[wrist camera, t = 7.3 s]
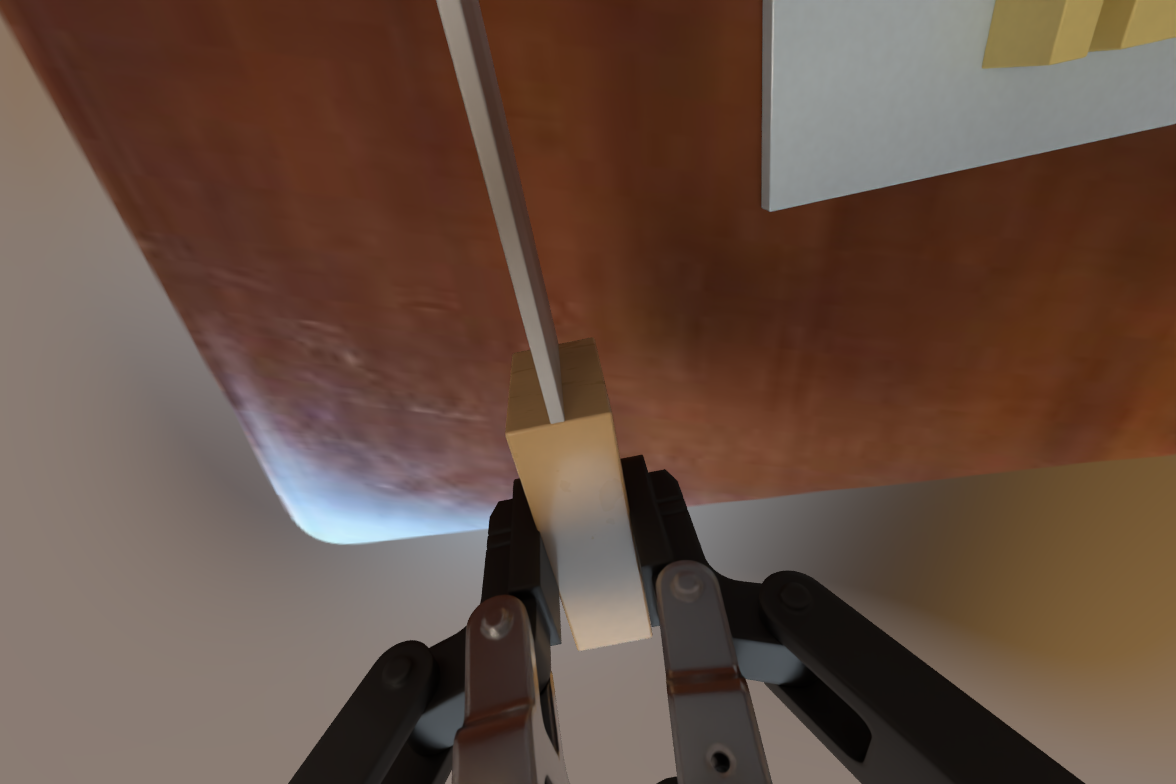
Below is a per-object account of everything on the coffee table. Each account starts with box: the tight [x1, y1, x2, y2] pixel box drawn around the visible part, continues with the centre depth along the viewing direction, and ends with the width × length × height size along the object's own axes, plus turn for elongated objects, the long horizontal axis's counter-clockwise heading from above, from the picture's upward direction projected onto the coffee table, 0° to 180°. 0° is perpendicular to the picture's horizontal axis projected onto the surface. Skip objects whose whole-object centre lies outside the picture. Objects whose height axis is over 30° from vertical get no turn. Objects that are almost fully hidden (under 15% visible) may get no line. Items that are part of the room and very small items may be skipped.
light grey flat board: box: [762, 0, 1176, 212], centre depth 20 cm, size 12×20×1 cm, turn 101°
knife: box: [436, 0, 653, 651], centre depth 11 cm, size 17×2×4 cm, turn 10°
